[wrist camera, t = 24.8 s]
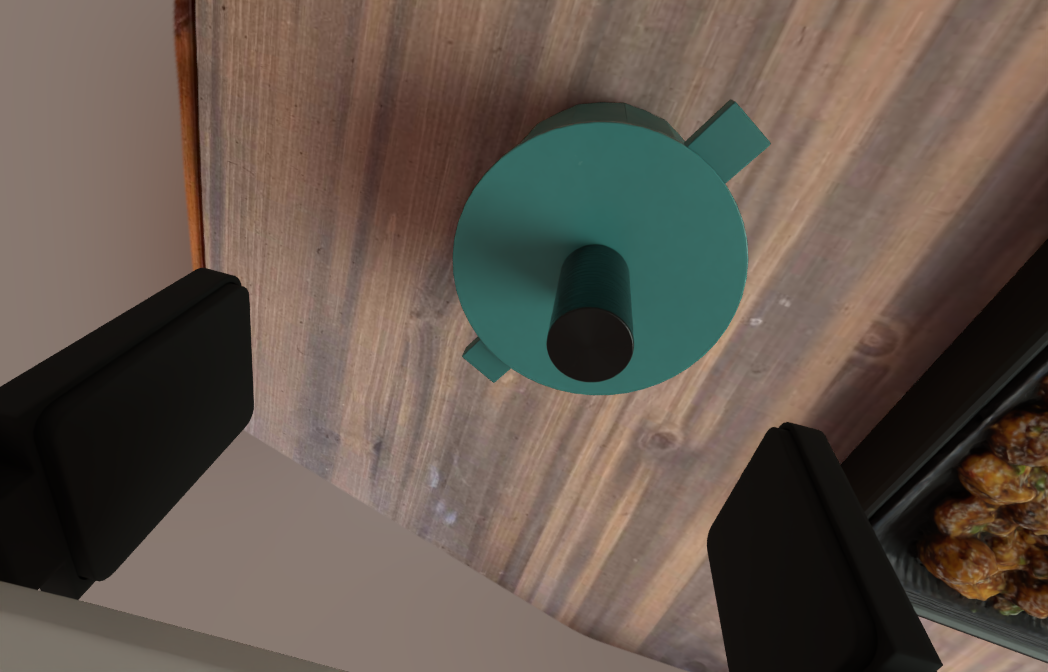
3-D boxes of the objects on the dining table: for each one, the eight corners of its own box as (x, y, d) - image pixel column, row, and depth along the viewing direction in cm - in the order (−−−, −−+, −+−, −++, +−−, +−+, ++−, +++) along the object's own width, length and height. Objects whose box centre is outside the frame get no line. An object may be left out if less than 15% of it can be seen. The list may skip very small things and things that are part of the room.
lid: (404, 264, 28) (341, 338, 22) (600, 42, 22) (595, 51, 16) (591, 424, 31) (586, 530, 25) (806, 270, 25) (873, 356, 19)
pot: (434, 239, 37) (383, 302, 29) (640, 7, 29) (652, 2, 21) (568, 358, 40) (557, 445, 32) (788, 178, 32) (849, 233, 24)
